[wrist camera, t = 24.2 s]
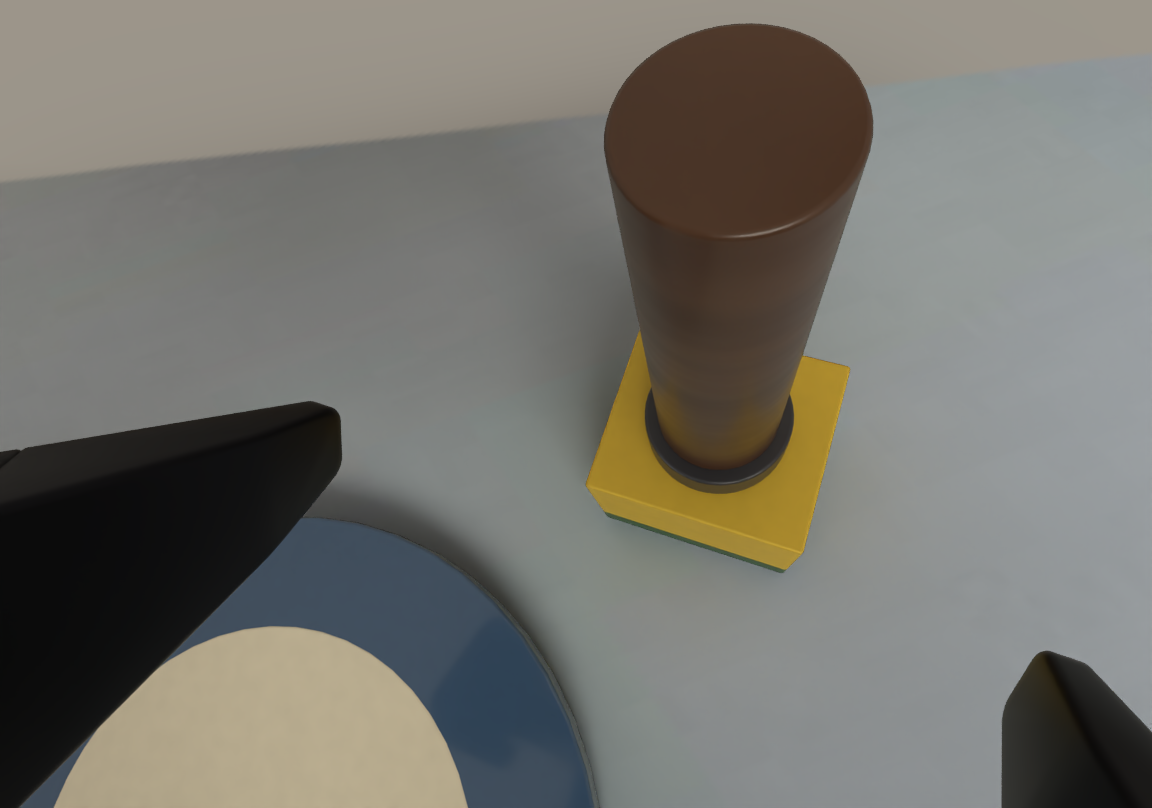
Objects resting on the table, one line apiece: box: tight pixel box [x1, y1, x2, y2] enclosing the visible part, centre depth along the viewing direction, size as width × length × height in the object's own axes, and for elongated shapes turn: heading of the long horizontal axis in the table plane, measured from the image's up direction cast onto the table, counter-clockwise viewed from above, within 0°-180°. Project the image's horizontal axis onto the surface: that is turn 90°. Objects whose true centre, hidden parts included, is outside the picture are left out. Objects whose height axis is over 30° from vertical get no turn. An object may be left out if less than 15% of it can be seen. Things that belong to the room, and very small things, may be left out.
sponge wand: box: [586, 24, 873, 573], centre depth 13 cm, size 4×5×14 cm
